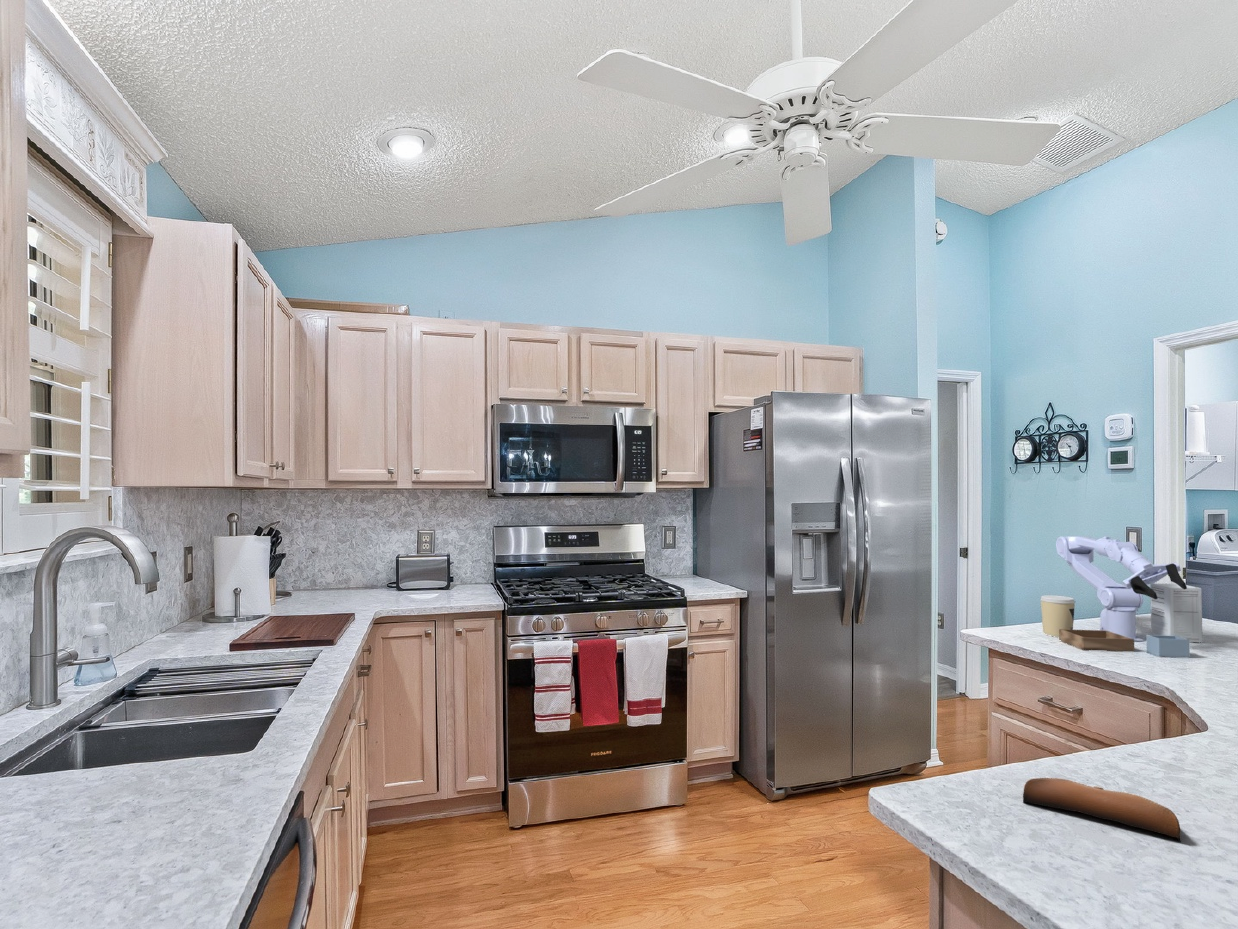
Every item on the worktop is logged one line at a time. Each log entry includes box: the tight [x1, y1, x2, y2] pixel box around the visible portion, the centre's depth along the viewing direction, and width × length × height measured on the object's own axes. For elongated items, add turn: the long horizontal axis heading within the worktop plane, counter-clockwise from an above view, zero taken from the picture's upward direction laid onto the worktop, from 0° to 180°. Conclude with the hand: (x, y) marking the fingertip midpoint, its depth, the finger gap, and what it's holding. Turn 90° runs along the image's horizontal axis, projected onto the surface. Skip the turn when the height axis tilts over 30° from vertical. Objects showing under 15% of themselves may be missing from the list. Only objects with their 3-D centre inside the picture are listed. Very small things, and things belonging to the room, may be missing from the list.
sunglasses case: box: [1022, 777, 1181, 843], centre depth 97 cm, size 18×7×7 cm, turn 54°
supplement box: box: [1149, 583, 1203, 644], centre depth 213 cm, size 10×9×17 cm
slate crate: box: [1146, 634, 1191, 658], centre depth 192 cm, size 5×8×5 cm, turn 86°
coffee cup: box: [1039, 594, 1076, 638], centre depth 216 cm, size 9×9×12 cm
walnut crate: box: [1058, 629, 1135, 652], centre depth 202 cm, size 12×14×4 cm
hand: (1170, 591), depth 192 cm, fingers open, 7 cm apart
